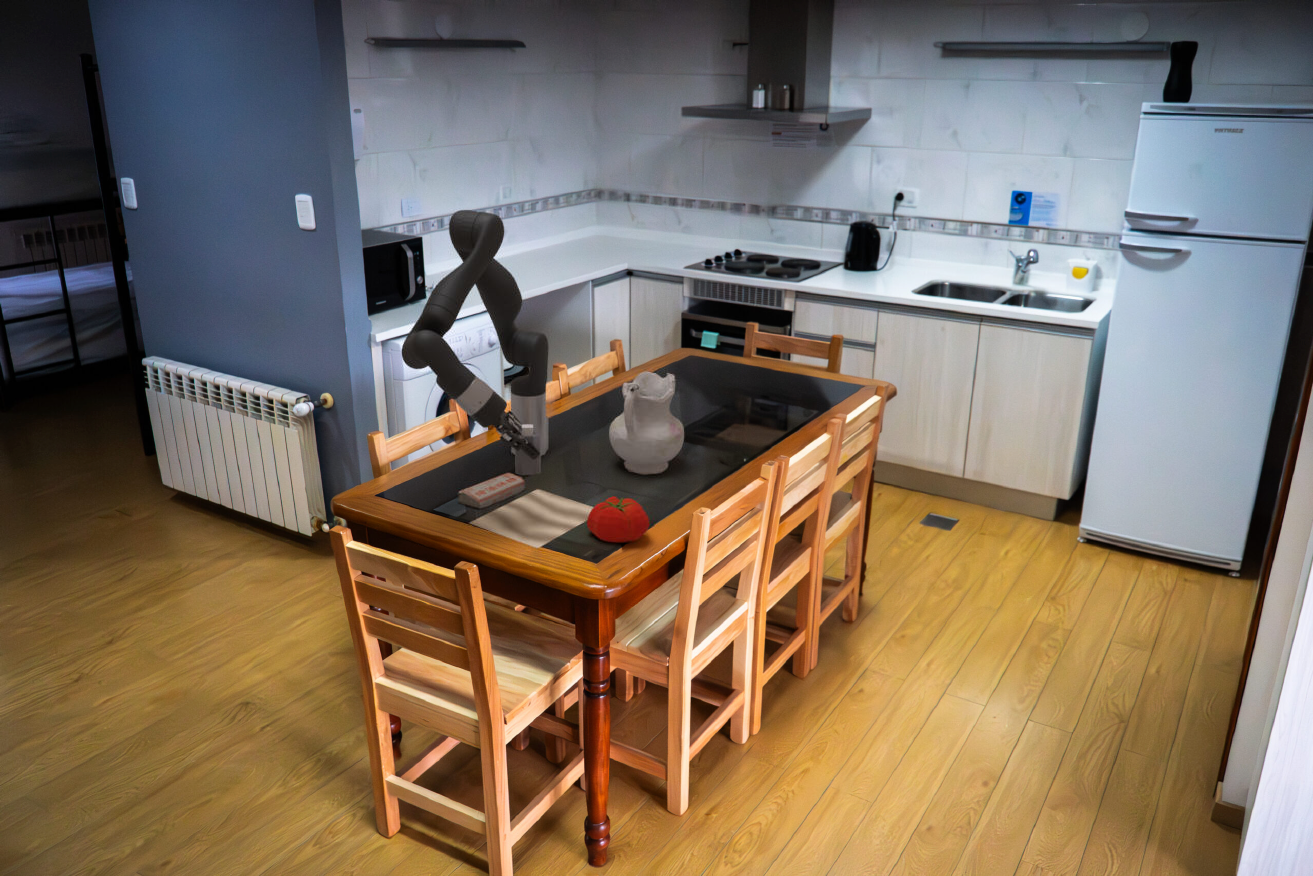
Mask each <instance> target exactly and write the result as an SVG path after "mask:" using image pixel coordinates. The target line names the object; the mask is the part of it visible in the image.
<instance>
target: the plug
mask: <svg viewBox="0 0 1313 876" xmlns="http://www.w3.org/2000/svg"><path fill="white" fill-rule="evenodd" d="M516 434H517V433H516ZM522 435H523V436H524V437H525V438H526V439H527V440H528V442H530V443H531V444H532V445H533V446H534V447H535V448H536V449H537V450H539V451H540V455H539V456H538V457H537V458H536V459H532V458H531V457H530V456H528V455H527V454H526V453H525V452H524V451H523V450H522V449H521V450H519V451H517V450H516V449H515V456H514V461H515V462H514V465H515V466H514V467H515V475H516V474H517V475H518V476H519V475H521V476H525V475H526V476H527V475H528V476H535V475H536V476H537V475H539V474H540V473H542V472H541V471H542V470H541V469H542V468H541V466H542V465H541V458H542V456H541V444H540V433H537V432H533V425H522ZM517 442H518V443H520V442H519V441H517Z"/></svg>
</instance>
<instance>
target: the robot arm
mask: <svg viewBox="0 0 1313 876" xmlns="http://www.w3.org/2000/svg"><path fill="white" fill-rule="evenodd" d="M448 234H449V238H450V242H451V244H452V245H453V248H454V250H455V251H456V253H457V255H458V256H459V257H460V260H461V261H462V263H461V264H460V265H458V266H457V267H456V268H455V269H453V270H452V271H451V272H449V273H448V274H447V275H446V276H445V277H442V279H441V280H440V281H439V282H438V283H437V284H436V285H435V286H434V287H433V289H432V291H431V293H430V294H429V297H428V298H427V301H426V302H425V305H424V307H423V309H422V312H421V314H420V316H419V318H417V321H416V322H415V323H414V325H413V327H412V328H411V329H410V331H409V332H408V334H407V335H406V337H405V339H404V342H403V343H402V346H401V357H402V360H403V362H404V363H405V365H406V366H408V368H410V369H413V370H421V369H422V370H423V369H425V368H427V367H429V369H431V371H432V372H433V373H434V374H435V376H436V378H435V381H436V384H437V386H438V387H439V388H440V389H441V390H442V391H443V392H444V393H445V394H447V395H448V396H449V397H450V398H451V399H452V400H453V401H454V402H455V403H456V404H457V405H458V406H459V408H460V409H462V411H464V412H465V413H466V414H467V415H468V416H469V417H471V419H473V420H474V421H475V422H476V423H478V425H479V426H480V427H482V428H484V429H485V428H489V427H490V426H493V428H495V431H496V432H497V434H499V435H500V437H499V439H500V441H502V442H504V443H505V444H507V445H508V446H509V447H511V451H510V452H511V454H512V453H513V454H514V455H515V449H516V450H517V451H519V450H521V449H522V450H523V451H524V452H525V453H526V454H527V455H528V456H530V457H531V458H532V459H536V458H537V457H538V456H539V455H540V451H539V450H537V449H536V448H535V447H534V446H533V445H532V444H531V443H530V442H528V440H527V439H526V438H525V437H524V436H523V435H522V425H533V432H537V433H540V444H541V457H542V455H543V456H545V455H546V453H547V451H549V417H548V416H547V382H548V369H549V368H548V366H549V365H548V363H549V362H548V361H549V350H550V349H549V340H548V338H547V336H546V335H545V334H544V333H543V332H542V333H541V332H537V331H530V330H529V331H528V330H522V329H519V328H517V325H516V324H515V320H517V317H518V316H519V314H520V311H521V310H522V305H523V296H522V293H521V290H520V289H519V286H518V283H517V281H516V278H515V277H514V276H513V275H512V273H511V272H510V271H509V270H508V269H507V268H506V267H505V266H503V265H502V264H501V263H500V262H499V261H498V260H497V259H496V257H495V256H496V255H497V253H498V252H499V250H500V248H501V246H502V245H503V241H504V238H505V225H504V221H503V220H502V218H501V217H500V216H499V215H497V214H495V213H491V212H484V211H478V210H470V209H462V210H460V209H459V210H457V211H456V212H454V213H453V214H452V216H451V217H450V219H449V224H448ZM474 286H475V287H476V289H477V292H478V294H479V296H480V298H481V300H482V303H483V305H484V307H485V309H486V312H487V313H488V315H489V318H490V320H491V323H492V324H493V325H492V326H493V327H494V330H495V332H496V335H497V339H498V342H499V346H500V349H501V351H502V354H503V357H504V359H505V361H506V362H507V363H508V364H509V365H512V366H515V367H523V368H529V373H528V374H525V375H522V376H518V377H515V378H514V379H512V380H511V382H510V410H508V411H507V412H506V411H505V410H506V409H507V407H508V404H507V401H506V400H505V399H504V398H503V397H502V396H500V395H499V393H498V392H497V391H495V390H493V388H491V386H490V385H489V384H488V383H486V382H485V381H483V380H482V379H481V378H479V376H477V375H475V374H474V372H472V371H471V370H470V369H469V368H468V367H467V366H466V365H464V364H463V363H462V362H461V360H460V359H459V357H458V355H457V354H456V352H454V350H453V348H452V347H451V346H450V344H449V343H448V342H447V341H446V340H445V338H443V337H444V336H445V335H446V334H447V333H448V332H449V331H450V330H451V329H452V328H453V326H454V324H455V322H456V319H458V318H457V317H458V316H459V313H460V312H461V309H462V307H463V305H464V303H465V301H466V299H467V298H468V295H469V294H470V292H471V290H472V289H473V288H474ZM516 433H517V434H516ZM517 441H519V442H520V443H518V442H517ZM513 454H512V455H513ZM514 455H513V456H514Z"/></svg>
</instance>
